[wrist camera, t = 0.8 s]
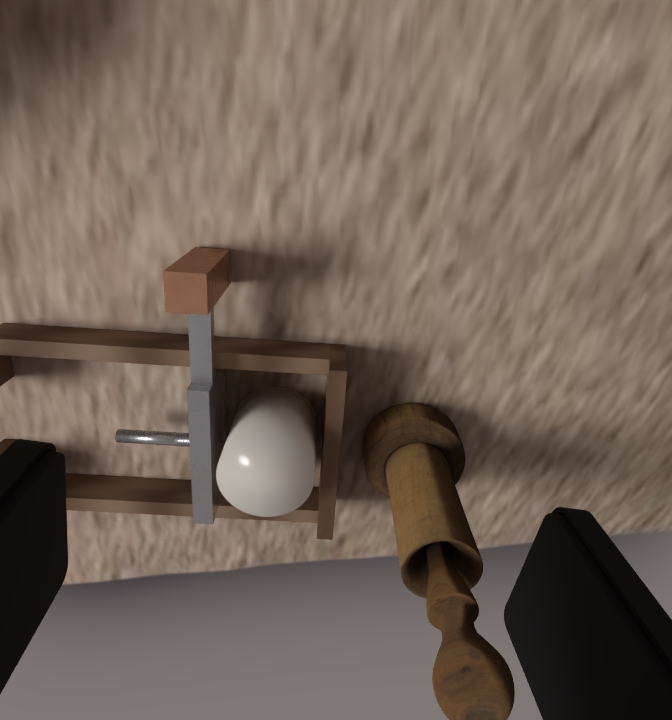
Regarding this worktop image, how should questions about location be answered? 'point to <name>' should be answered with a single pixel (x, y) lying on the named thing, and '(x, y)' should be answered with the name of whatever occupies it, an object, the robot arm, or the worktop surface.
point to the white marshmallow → (269, 453)
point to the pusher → (197, 373)
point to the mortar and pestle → (438, 552)
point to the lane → (175, 352)
